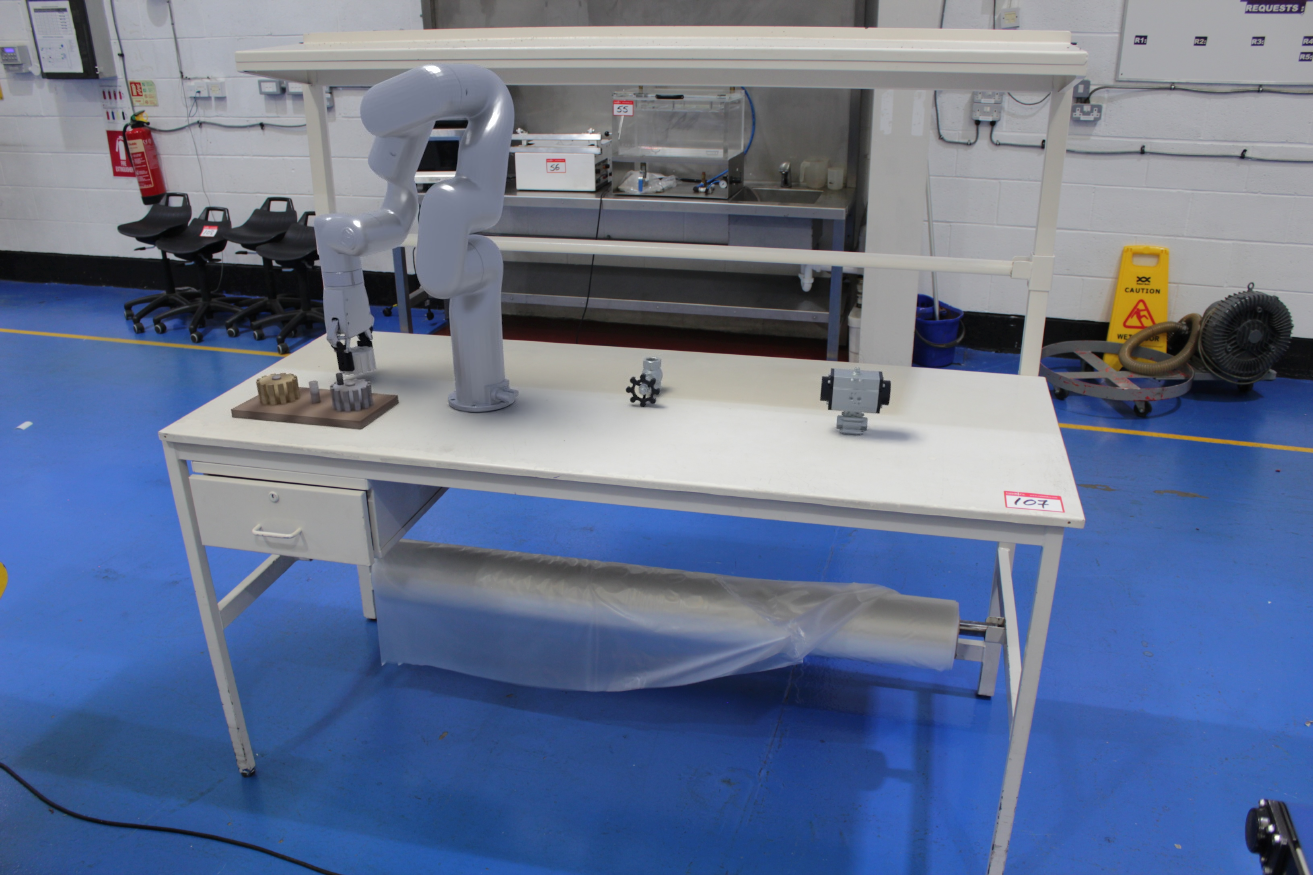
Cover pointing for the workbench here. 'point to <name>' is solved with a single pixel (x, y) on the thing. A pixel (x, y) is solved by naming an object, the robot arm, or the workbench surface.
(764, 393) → the workbench surface
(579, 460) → the workbench surface
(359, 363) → the gear
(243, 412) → the gear board
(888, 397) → the pneumatic valve
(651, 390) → the valve
